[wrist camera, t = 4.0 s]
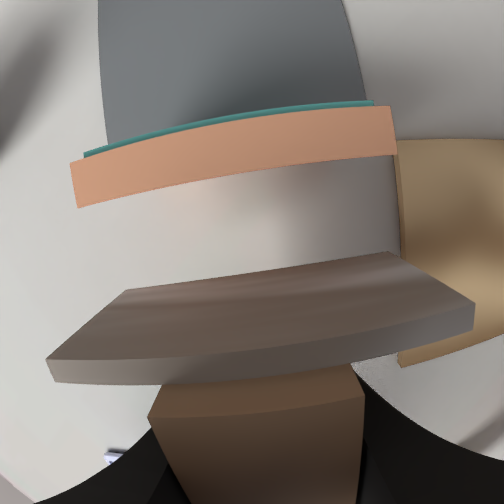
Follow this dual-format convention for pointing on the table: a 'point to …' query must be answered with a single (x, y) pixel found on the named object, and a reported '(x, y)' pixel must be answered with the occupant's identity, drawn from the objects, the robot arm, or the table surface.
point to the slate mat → (219, 60)
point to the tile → (233, 147)
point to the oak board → (454, 228)
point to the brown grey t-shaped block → (263, 369)
